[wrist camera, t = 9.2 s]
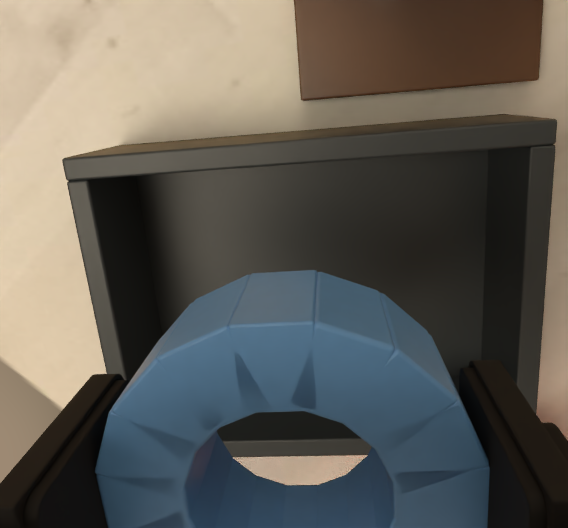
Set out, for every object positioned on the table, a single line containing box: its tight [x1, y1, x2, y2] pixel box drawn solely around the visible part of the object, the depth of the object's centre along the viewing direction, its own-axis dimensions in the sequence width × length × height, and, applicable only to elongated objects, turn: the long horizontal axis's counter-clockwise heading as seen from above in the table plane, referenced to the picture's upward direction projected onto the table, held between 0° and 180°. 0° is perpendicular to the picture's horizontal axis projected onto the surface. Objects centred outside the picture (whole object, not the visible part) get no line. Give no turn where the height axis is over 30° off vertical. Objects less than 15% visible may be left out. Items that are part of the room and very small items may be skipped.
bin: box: [63, 114, 557, 457], centre depth 19 cm, size 11×14×4 cm
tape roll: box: [95, 270, 490, 528], centre depth 10 cm, size 7×7×3 cm
